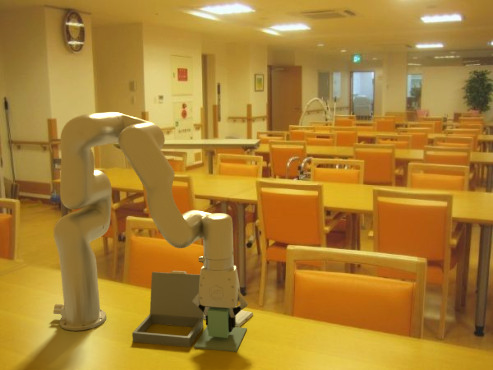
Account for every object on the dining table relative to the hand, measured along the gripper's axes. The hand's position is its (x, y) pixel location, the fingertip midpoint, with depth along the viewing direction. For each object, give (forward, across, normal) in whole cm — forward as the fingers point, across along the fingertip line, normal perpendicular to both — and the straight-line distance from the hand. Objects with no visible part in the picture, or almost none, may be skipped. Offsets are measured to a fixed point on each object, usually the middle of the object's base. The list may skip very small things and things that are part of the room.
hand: (220, 328), depth 133 cm
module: (+1, 0, 0) cm, 1 cm away
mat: (+3, 0, 0) cm, 3 cm away
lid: (-6, -14, +7) cm, 17 cm away
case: (+3, -14, 0) cm, 15 cm away
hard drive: (+4, -2, +13) cm, 14 cm away
